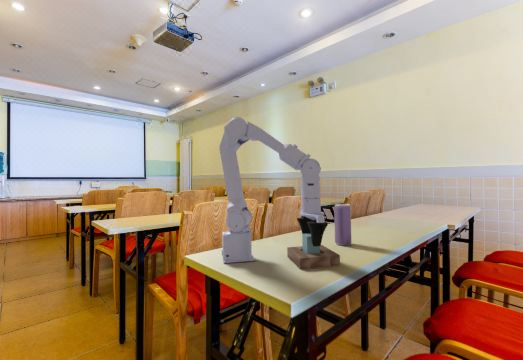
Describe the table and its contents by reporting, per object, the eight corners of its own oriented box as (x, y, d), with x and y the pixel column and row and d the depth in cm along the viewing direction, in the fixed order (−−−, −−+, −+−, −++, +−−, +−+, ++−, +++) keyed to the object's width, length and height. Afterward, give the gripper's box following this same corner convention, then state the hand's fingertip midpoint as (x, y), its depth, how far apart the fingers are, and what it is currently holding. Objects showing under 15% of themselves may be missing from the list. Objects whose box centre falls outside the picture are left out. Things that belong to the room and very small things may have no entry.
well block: (300, 269, 71) (299, 258, 71) (287, 256, 83) (287, 247, 83) (339, 265, 73) (339, 255, 73) (322, 253, 85) (322, 244, 85)
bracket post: (307, 263, 76) (307, 236, 76) (302, 259, 80) (302, 233, 80) (320, 262, 76) (319, 235, 76) (314, 258, 80) (314, 233, 80)
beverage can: (348, 246, 93) (347, 205, 93) (332, 244, 97) (331, 204, 97) (353, 243, 98) (352, 204, 98) (338, 241, 102) (337, 203, 102)
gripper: (334, 199, 72) (335, 248, 72) (313, 196, 86) (314, 236, 86) (310, 200, 70) (311, 249, 70) (293, 197, 85) (294, 238, 85)
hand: (311, 242), depth 78 cm, fingers open, 7 cm apart
